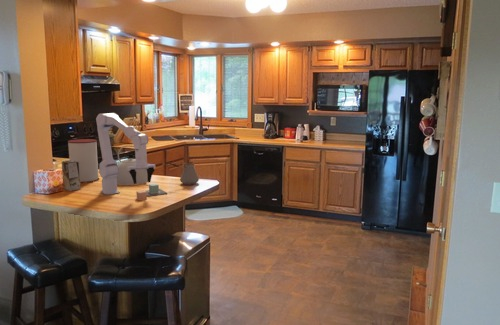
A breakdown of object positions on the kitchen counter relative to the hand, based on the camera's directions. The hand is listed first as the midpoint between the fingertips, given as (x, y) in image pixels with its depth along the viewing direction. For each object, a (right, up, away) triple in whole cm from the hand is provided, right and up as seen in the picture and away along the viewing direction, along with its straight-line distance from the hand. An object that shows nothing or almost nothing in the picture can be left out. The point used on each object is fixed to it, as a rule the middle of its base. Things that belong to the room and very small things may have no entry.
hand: (142, 182), depth 222 cm
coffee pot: (+16, -3, +33) cm, 37 cm away
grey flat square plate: (+4, -6, +13) cm, 15 cm away
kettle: (-16, -1, +43) cm, 46 cm away
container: (-48, -1, +45) cm, 66 cm away
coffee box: (-46, -5, +21) cm, 51 cm away
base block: (+3, -6, +13) cm, 14 cm away
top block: (0, -9, +1) cm, 9 cm away
